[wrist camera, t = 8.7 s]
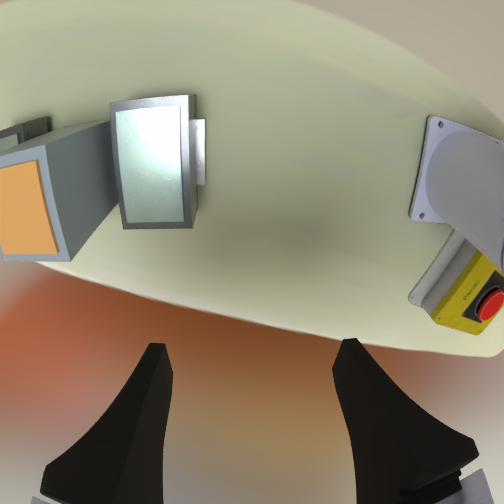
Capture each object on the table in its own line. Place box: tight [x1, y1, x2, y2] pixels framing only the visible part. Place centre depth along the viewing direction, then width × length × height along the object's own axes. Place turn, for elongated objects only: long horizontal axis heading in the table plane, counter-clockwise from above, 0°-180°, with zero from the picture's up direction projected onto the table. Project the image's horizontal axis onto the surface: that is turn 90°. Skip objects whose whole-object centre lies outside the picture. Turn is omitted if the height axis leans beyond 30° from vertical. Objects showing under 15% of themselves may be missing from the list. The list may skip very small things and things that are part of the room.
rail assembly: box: [0, 94, 206, 229], centre depth 15 cm, size 15×7×4 cm, turn 88°
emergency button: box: [408, 229, 504, 335], centre depth 22 cm, size 9×4×15 cm
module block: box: [0, 120, 119, 262], centre depth 12 cm, size 4×5×8 cm
